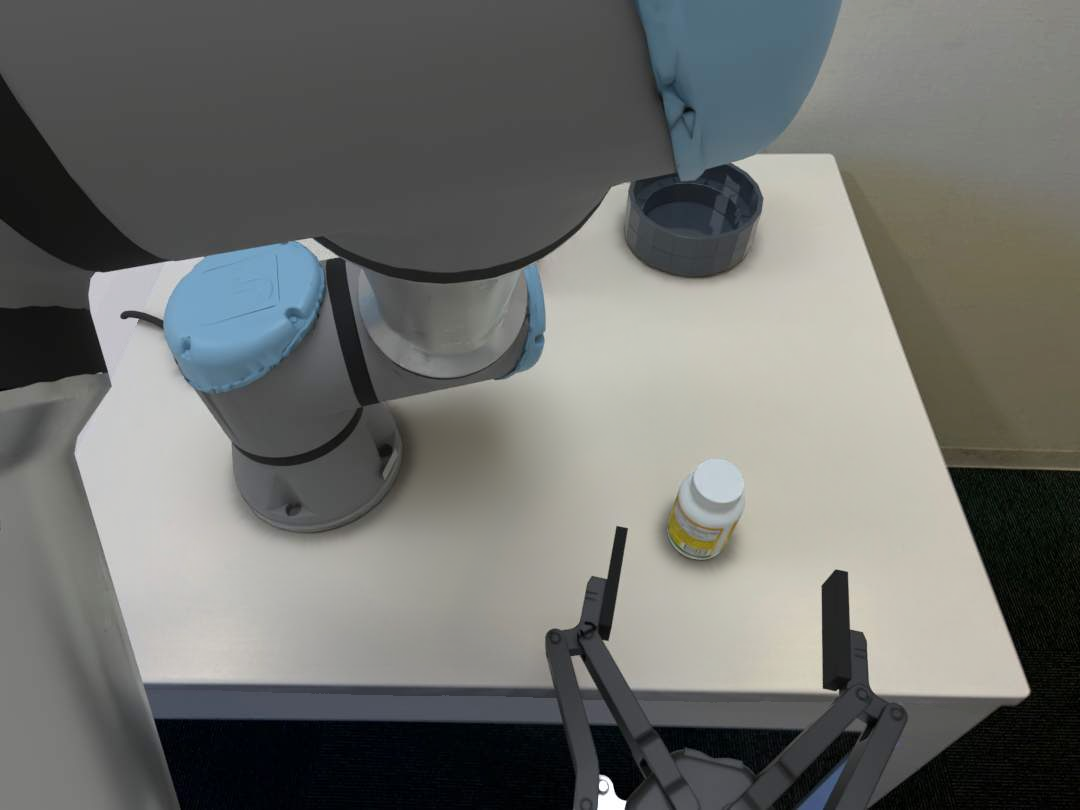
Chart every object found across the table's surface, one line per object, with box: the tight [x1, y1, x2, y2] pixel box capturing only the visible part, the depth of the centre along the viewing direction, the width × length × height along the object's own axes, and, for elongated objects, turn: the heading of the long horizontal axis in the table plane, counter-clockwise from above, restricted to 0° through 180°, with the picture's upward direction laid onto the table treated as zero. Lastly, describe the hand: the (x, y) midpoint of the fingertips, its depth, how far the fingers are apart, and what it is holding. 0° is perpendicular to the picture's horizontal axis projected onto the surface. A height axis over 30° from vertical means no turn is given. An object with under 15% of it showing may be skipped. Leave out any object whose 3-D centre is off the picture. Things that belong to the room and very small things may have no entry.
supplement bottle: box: [666, 457, 746, 561], centre depth 58 cm, size 5×5×10 cm
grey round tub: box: [623, 162, 764, 277], centre depth 82 cm, size 15×15×6 cm
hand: (725, 556), depth 45 cm, fingers open, 13 cm apart
